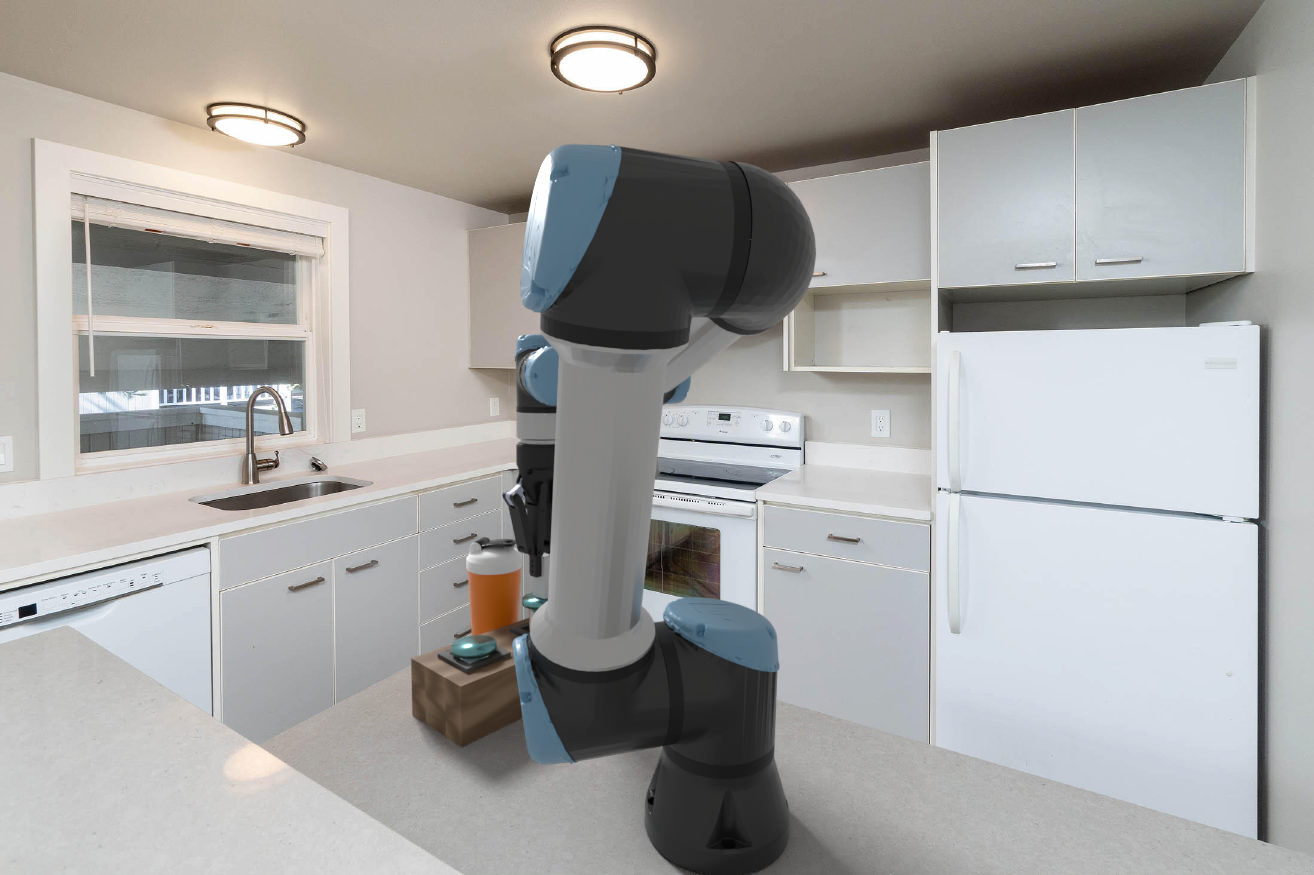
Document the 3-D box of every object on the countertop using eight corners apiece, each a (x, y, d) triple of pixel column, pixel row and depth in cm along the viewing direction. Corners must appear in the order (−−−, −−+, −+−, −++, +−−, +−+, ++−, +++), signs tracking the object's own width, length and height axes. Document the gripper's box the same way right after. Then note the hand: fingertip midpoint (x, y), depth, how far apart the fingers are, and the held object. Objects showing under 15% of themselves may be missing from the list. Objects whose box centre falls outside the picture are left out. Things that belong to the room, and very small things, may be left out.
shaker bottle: (516, 672, 102) (515, 548, 100) (460, 670, 102) (458, 547, 100) (528, 648, 111) (527, 534, 109) (476, 647, 111) (475, 533, 109)
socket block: (598, 680, 99) (598, 626, 99) (461, 747, 81) (460, 681, 80) (547, 658, 107) (547, 607, 106) (412, 714, 89) (411, 654, 88)
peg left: (505, 704, 90) (505, 643, 89) (468, 721, 85) (467, 657, 84) (480, 690, 94) (480, 631, 93) (443, 706, 89) (442, 644, 88)
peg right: (570, 653, 99) (570, 597, 98) (539, 666, 94) (539, 607, 93) (545, 642, 103) (545, 588, 102) (514, 654, 98) (514, 597, 97)
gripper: (559, 436, 103) (558, 580, 105) (489, 441, 93) (491, 600, 95) (591, 439, 98) (590, 590, 100) (522, 446, 88) (523, 613, 90)
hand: (542, 595), depth 98 cm, fingers closed
